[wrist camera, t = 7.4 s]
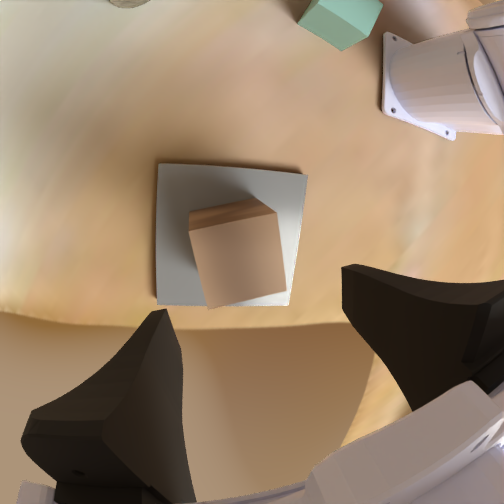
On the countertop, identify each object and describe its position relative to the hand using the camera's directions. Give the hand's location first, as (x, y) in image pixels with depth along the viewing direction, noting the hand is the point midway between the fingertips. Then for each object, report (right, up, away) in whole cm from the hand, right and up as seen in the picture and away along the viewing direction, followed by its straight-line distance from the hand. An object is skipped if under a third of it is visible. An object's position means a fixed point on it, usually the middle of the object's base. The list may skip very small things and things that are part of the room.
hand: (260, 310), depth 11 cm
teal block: (+6, +20, +5) cm, 22 cm away
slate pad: (-2, +3, +9) cm, 10 cm away
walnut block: (-2, +3, +9) cm, 9 cm away
